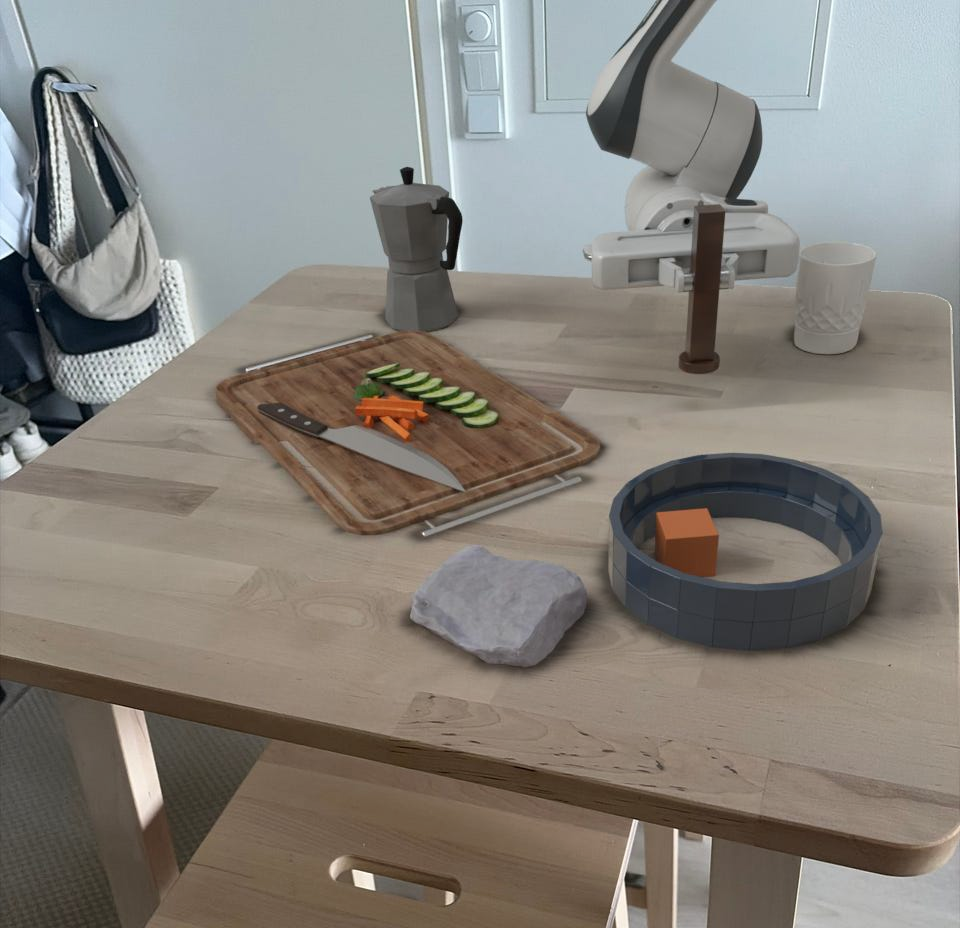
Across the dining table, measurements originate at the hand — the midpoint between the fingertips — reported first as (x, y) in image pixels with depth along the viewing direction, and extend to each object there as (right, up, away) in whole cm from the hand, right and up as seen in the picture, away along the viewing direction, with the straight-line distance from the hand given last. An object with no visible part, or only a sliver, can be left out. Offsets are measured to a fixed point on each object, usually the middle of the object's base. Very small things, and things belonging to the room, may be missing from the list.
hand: (706, 282), depth 96 cm
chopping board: (-30, -11, +10) cm, 34 cm away
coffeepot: (-28, +6, +33) cm, 44 cm away
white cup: (+17, 0, +19) cm, 26 cm away
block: (-5, -28, -15) cm, 32 cm away
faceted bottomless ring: (-1, -29, -16) cm, 33 cm away
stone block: (-20, -33, -19) cm, 43 cm away
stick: (0, -6, +6) cm, 9 cm away
